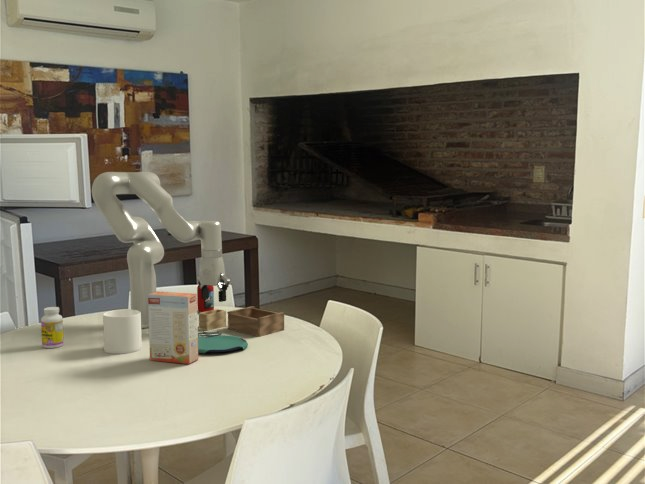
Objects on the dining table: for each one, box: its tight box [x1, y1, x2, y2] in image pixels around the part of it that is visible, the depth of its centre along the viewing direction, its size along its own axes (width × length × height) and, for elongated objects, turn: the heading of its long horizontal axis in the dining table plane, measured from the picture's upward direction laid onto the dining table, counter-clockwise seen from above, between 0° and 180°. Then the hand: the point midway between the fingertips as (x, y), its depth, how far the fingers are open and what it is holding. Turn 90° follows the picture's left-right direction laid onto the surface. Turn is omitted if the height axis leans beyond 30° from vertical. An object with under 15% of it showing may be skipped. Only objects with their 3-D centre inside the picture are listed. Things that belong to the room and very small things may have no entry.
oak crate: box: [198, 308, 227, 332], centre depth 233 cm, size 9×5×6 cm, turn 140°
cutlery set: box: [198, 330, 249, 354], centre depth 211 cm, size 20×30×2 cm, turn 26°
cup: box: [102, 308, 143, 355], centre depth 203 cm, size 12×12×12 cm
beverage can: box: [196, 284, 215, 313], centre depth 259 cm, size 7×7×12 cm
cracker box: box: [148, 291, 199, 365], centre depth 191 cm, size 14×6×21 cm, turn 71°
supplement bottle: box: [40, 306, 64, 349], centre depth 207 cm, size 7×7×13 cm
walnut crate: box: [226, 305, 286, 337], centre depth 229 cm, size 13×17×7 cm
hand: (213, 299), depth 232 cm, fingers open, 9 cm apart
